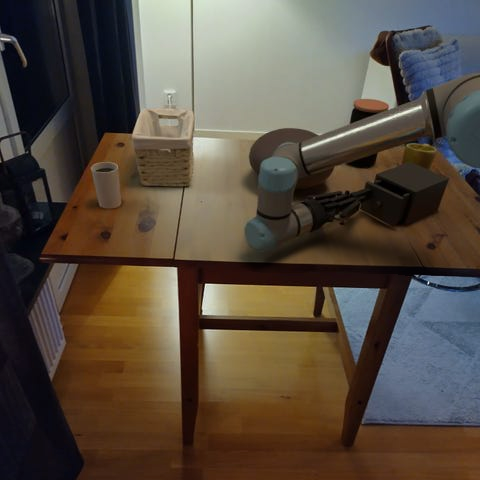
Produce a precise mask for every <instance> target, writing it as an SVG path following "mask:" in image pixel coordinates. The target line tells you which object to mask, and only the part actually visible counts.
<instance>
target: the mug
mask: <svg viewBox="0 0 480 480" xmlns="http://www.w3.org/2000/svg"><path fill="white" fill-rule="evenodd" d="M436 155H437V148H436V147H434V146H433V145H430V144H428V143H423V144H422V143H415V142H413V143H412V142H409V143H406V145H405V147H404V150H403V155H402V161H401V165H403V164H406V163H409V162H411V163H413V164H416V165H418V166H420V167H423V168H425V169H428V170H430V171H431V168H432V165H433V162H434V160H435V159H436Z"/></svg>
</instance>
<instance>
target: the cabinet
mask: <svg viewBox="0 0 480 480" xmlns="http://www.w3.org/2000/svg"><path fill="white" fill-rule="evenodd" d="M380 179H382V180H384V181H386V182H388V183H390V184H392V185H395V186H397V187H399V188H401V189H403V190H405V191H408V192H410V193H412V197H411V200H410V203H409V206H408V210H407V213H406V216H405V219H403V220H401V221H399V222H397V224H399V225H401V226H404V227H406V226H409V225H411V224H413V223H415V222H418V221H420V220H422V219H425V218H426V217H428V216H430V215H433V214H435V213H437V212H438V211H439V209H440V205H441V203H442V200H443V198H444V194H445V192H446V189H447V186H448V183H449V180H450V178H449V177H447V176H445V175H442V174H439V173H437V172H435V171H432V170H431V169H430V170H428V169H425V168H423V167H420V166H418V165H416V164H413V163H411V162H409V163H406V164H403V165H402V164H401V165H398V166H395V167H392V168H389V169H387V170H384V171H381V172H378V173H376V174H375V177H374V181H377V180H380Z"/></svg>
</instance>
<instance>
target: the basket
mask: <svg viewBox="0 0 480 480" xmlns="http://www.w3.org/2000/svg"><path fill="white" fill-rule="evenodd" d="M160 119H162V120H177V121H178V125H161V124H160ZM194 127H195V113H194V111H193V110H191V109H177V108H142V109H141V111H140V113H139V114H138V117H137V119H136V122H135V126H134V128H133V131H132V134H131V139H132V148H133V151H134V155H135V160H136V164H137V170H138V173H139V176H140V177H139V178H140V184H141V185H143V186H145V187H149V186H151V187H152V186H153V187H159V186H160V187H180V188H181V187H189V186H190V185H191V182H192V178H193V173H194V171H193V170H194Z"/></svg>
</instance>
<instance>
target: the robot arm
mask: <svg viewBox="0 0 480 480" xmlns="http://www.w3.org/2000/svg"><path fill="white" fill-rule="evenodd" d="M318 135H319V136H316V137H313V138H311V139H308V140H305V141H303V142H300V143H296V144H295V143H292V142H286V143H283V144H281V145H280V146H279V147H278V148H277V149H276V150H275V151H274V152H273V154H272V156H271V157H270V158H268V159H265V160H264V161H263V162H262V163H261V166H260V174H259V176H257V181H258V189H257V204H256V205H257V207H256V212H255V217H253V218H251V219H250V220H248V221H247V222H246V223H245V226H244V229H243V231H244V232H243V233H244V238H245V240H246V242H247V244H248V246H249V247H250V248H251V249H252V250H254V251H255V252H259V253H260V252H265V251H268V250H271V249H272V250H273V249H275V248H276V247H279V246H281V245H284V244H285V243H288V242H290V241H293V240H295V239H298V238H300V237H302V236H305V235H307V234H311V233H314V232H316V231H318V230H320V229H321V228H322V227H323V226H325V224H329V223H333V222H334V221H335V222H338V225H339V226H345V223H346V221H348V220H349V219H350V218H352V217H353V216H354V215H355V214H357V213H358V212H360V205H361V203H364V201H366V200H369V199H370V195H371V191H372V190H371V189H369V188H365V187H364V188H365V189H364V188H363V189H359V190H356V191H352V192H351V191H350V190H347V189H346V190H345V192H344V193H343V191H341V190H338V191H337V190H336V191H332V192H327V193H326V192H325V193H320V194H315V195H314V194H309V195H307V196H306V199H305V200H302V201H299V202H296V203H293V199H294V192H295V190H296V189H295V187H296V184H297V181H298V179H299V178H303V177H306V176H309V175H311V174H314V173H317V172H320V171H323V170H326V169H329V168H332V167H334V168H336V167H339V166H341V165H345V164H347V163H348V162H351V161H354V160H357V159H360V158H363V157H366V156H369V155H372V154H375V153H378V154H379V153H381V152H384V151H387V150H390V149H393V148H394V149H395V148H397V147H400V146H402V145H405V144H406V145H407V144H410V143H412V142H415V141H419V140H421V139H424V138H429V139H431V140H433V141H434V140H438V139H441V138H444V137H446V140H447V145H448V146H449V148H450V151H451V152H452V153H453V154H454V156H455V157H456V158H457V159H458V160H459V161H460V162H461V163H463V164H465V166H468V167H470V168H474V169H480V72H474V73H470V74H466V75H463V76H460V77H457V78H455V79H452V80H449V81H447V82H444V83H442V84H438V85H436V86H434V87H430V88H428V89H426V90H424V91H423V92H422V93H421V95H420V97H419V98H417V99H414V100H411V101H409V102H406V103H403V104H401V105H398V106H395V107H393V108H388V110H387V111H384V112H381V113H379V114H376V115H373V116H370V117H368V118H365V119H362V120H360V121H357V122H354V123H351V124H350V123H348V124H347V125H343V126H341V127H338V128H335V129H332V130H329V131H328V132H324V133H322V134H318Z"/></svg>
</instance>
